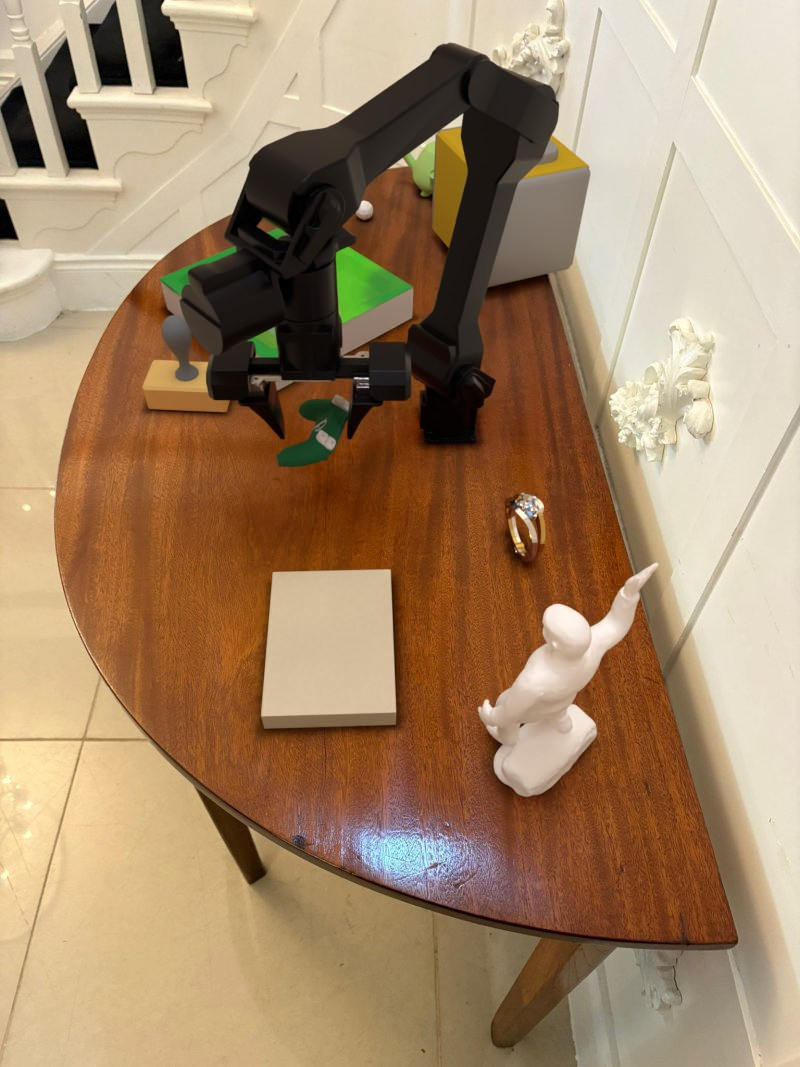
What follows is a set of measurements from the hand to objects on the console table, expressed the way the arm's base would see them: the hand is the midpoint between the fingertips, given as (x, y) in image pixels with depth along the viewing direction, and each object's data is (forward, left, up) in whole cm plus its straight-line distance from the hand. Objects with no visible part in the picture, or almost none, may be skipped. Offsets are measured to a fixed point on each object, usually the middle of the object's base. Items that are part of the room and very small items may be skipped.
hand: (316, 436), depth 79 cm
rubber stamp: (+17, -20, -11) cm, 29 cm away
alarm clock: (-26, -52, -11) cm, 59 cm away
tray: (+6, -38, -11) cm, 40 cm away
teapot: (-18, -73, -11) cm, 76 cm away
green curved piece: (0, 0, -1) cm, 1 cm away
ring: (-21, +7, -11) cm, 25 cm away
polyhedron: (-5, -64, -11) cm, 66 cm away
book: (-1, +19, -11) cm, 22 cm away
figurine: (-19, +30, -11) cm, 37 cm away
